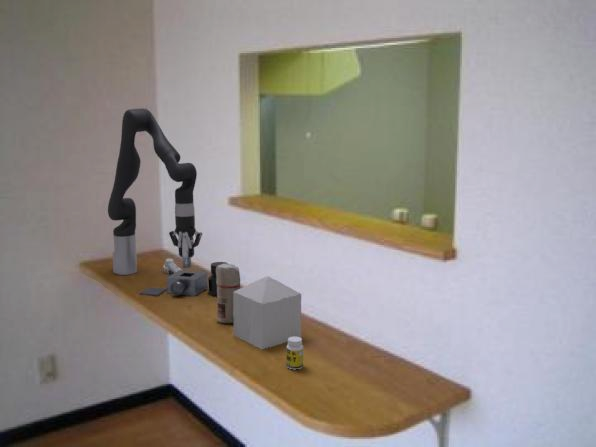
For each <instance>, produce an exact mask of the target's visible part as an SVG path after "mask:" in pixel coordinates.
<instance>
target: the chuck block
mask: <svg viewBox="0 0 596 447" xmlns="http://www.w3.org/2000/svg"><path fill="white" fill-rule="evenodd" d="M208 288H209V281H208V271H199V270H198V271H197V270H188V269H182V270H179V271H177V272H176V273H172V274H170V275H169V276H167V277H166V289H167V291H166V292H167V293H166V294H168V295H174V296H179V295H180V296H189V297H195V296H197V295H198V294H200V293H202V292H203V291H204V290H206V289H208Z"/></svg>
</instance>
